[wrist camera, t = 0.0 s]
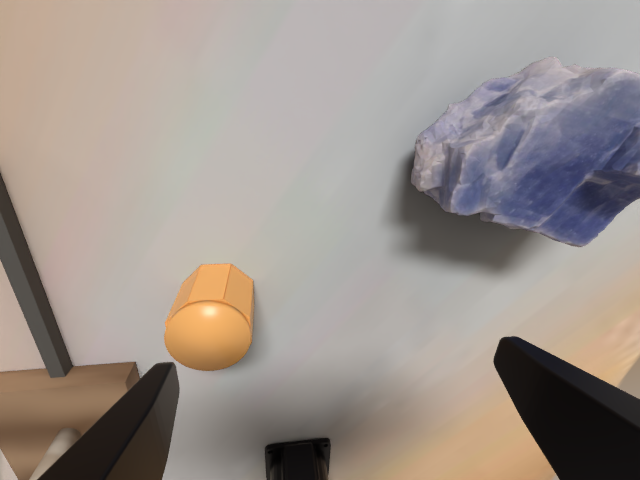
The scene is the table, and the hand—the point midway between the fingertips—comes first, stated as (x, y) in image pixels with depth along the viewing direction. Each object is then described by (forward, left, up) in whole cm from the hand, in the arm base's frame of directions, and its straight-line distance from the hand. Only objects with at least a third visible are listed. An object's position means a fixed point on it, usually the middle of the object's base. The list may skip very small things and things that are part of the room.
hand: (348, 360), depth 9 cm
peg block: (-18, +18, -15) cm, 30 cm away
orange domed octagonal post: (-7, +6, -15) cm, 17 cm away
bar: (-5, +18, -15) cm, 24 cm away
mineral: (+4, -14, -15) cm, 21 cm away
